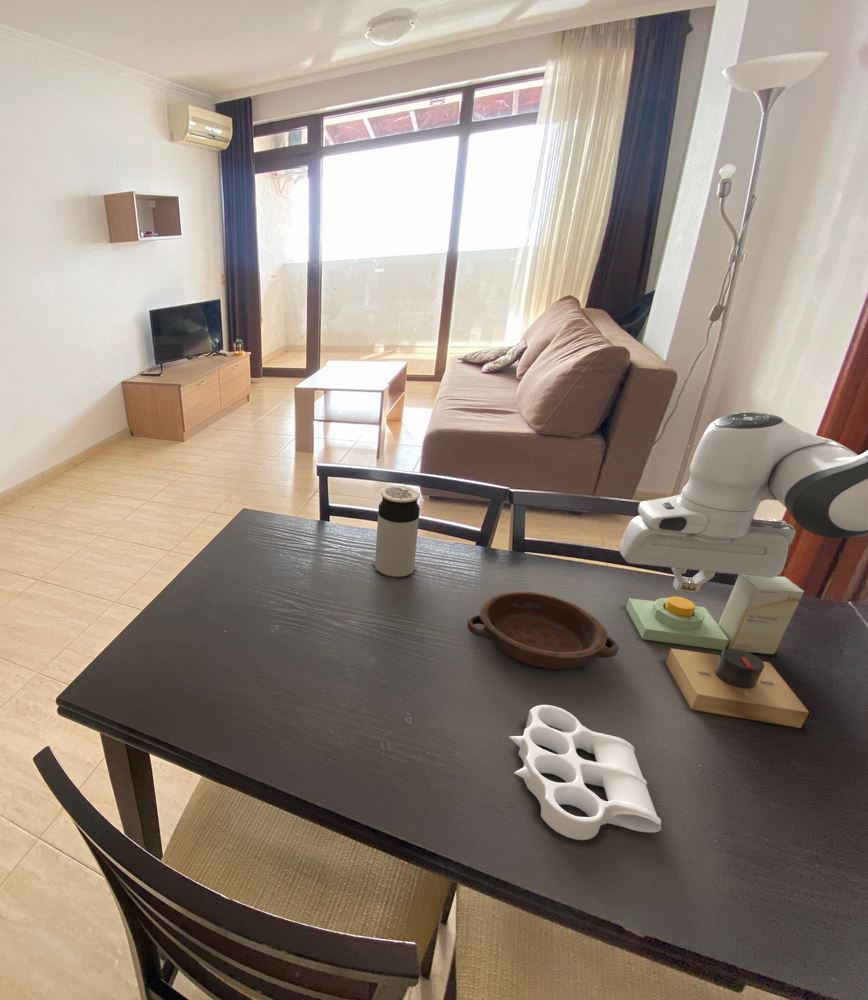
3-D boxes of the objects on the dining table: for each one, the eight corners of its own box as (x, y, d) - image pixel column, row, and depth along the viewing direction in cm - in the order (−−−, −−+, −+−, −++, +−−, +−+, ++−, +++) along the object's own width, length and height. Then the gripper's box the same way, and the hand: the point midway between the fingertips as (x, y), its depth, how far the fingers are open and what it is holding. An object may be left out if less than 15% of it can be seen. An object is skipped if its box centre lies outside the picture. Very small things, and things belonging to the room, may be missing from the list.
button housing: (700, 617, 95) (708, 598, 93) (724, 650, 87) (733, 631, 86) (625, 607, 99) (631, 589, 97) (642, 639, 91) (648, 620, 89)
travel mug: (387, 581, 112) (393, 504, 105) (368, 562, 119) (372, 488, 112) (421, 573, 114) (429, 496, 106) (399, 555, 121) (406, 482, 113)
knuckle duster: (666, 865, 59) (516, 824, 65) (621, 737, 74) (502, 712, 80) (675, 846, 58) (520, 805, 63) (627, 719, 73) (505, 695, 78)
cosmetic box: (728, 651, 87) (755, 589, 82) (712, 633, 91) (736, 573, 86) (776, 655, 86) (806, 591, 80) (758, 636, 89) (785, 575, 84)
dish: (462, 604, 103) (465, 582, 101) (598, 622, 96) (604, 599, 94) (469, 666, 89) (473, 642, 87) (630, 692, 81) (639, 667, 79)
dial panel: (762, 677, 82) (770, 661, 80) (800, 728, 73) (810, 711, 72) (665, 662, 86) (671, 647, 85) (691, 709, 78) (698, 693, 76)
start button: (687, 606, 92) (690, 598, 92) (696, 619, 89) (699, 610, 89) (661, 603, 94) (664, 595, 93) (669, 615, 91) (672, 607, 90)
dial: (709, 664, 81) (717, 644, 79) (747, 670, 79) (756, 650, 78) (722, 684, 77) (731, 664, 76) (762, 691, 76) (771, 670, 74)
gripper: (788, 512, 83) (755, 587, 89) (628, 501, 90) (607, 571, 96) (812, 532, 78) (776, 609, 83) (640, 518, 85) (618, 591, 91)
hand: (685, 589), depth 90 cm, fingers closed
